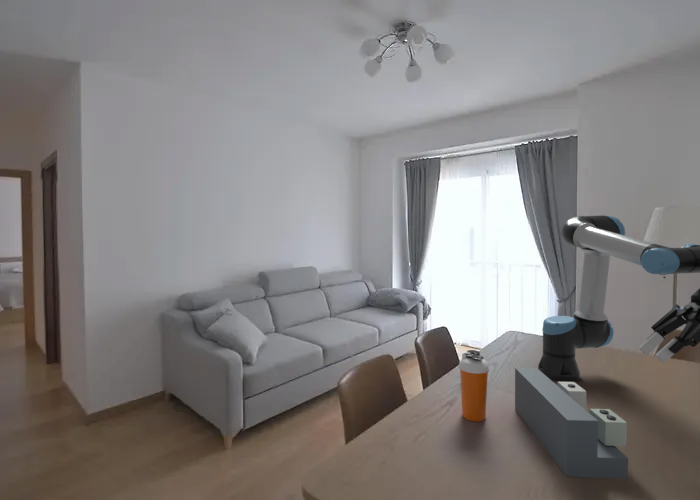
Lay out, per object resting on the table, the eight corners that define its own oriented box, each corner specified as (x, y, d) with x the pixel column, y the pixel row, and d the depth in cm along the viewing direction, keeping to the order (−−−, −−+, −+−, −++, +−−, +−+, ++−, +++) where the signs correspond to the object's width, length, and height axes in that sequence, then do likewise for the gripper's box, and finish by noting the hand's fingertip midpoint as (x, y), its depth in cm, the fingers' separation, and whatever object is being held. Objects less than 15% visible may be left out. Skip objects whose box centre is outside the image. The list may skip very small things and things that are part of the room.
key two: (608, 431, 100) (609, 408, 99) (626, 446, 93) (626, 421, 92) (589, 430, 100) (589, 407, 100) (605, 445, 93) (605, 420, 93)
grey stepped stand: (558, 410, 122) (559, 368, 122) (627, 478, 89) (629, 421, 88) (515, 409, 123) (515, 367, 123) (566, 476, 90) (567, 420, 89)
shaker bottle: (474, 426, 113) (474, 361, 112) (453, 413, 121) (453, 353, 120) (494, 418, 118) (494, 356, 117) (473, 407, 125) (473, 348, 124)
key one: (573, 400, 117) (574, 380, 117) (586, 411, 110) (586, 390, 110) (557, 400, 118) (557, 380, 118) (568, 410, 111) (568, 390, 111)
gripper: (761, 313, 92) (688, 377, 94) (696, 299, 110) (637, 353, 112) (739, 292, 92) (666, 356, 94) (678, 281, 110) (619, 336, 112)
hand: (650, 354), depth 103 cm, fingers open, 6 cm apart
